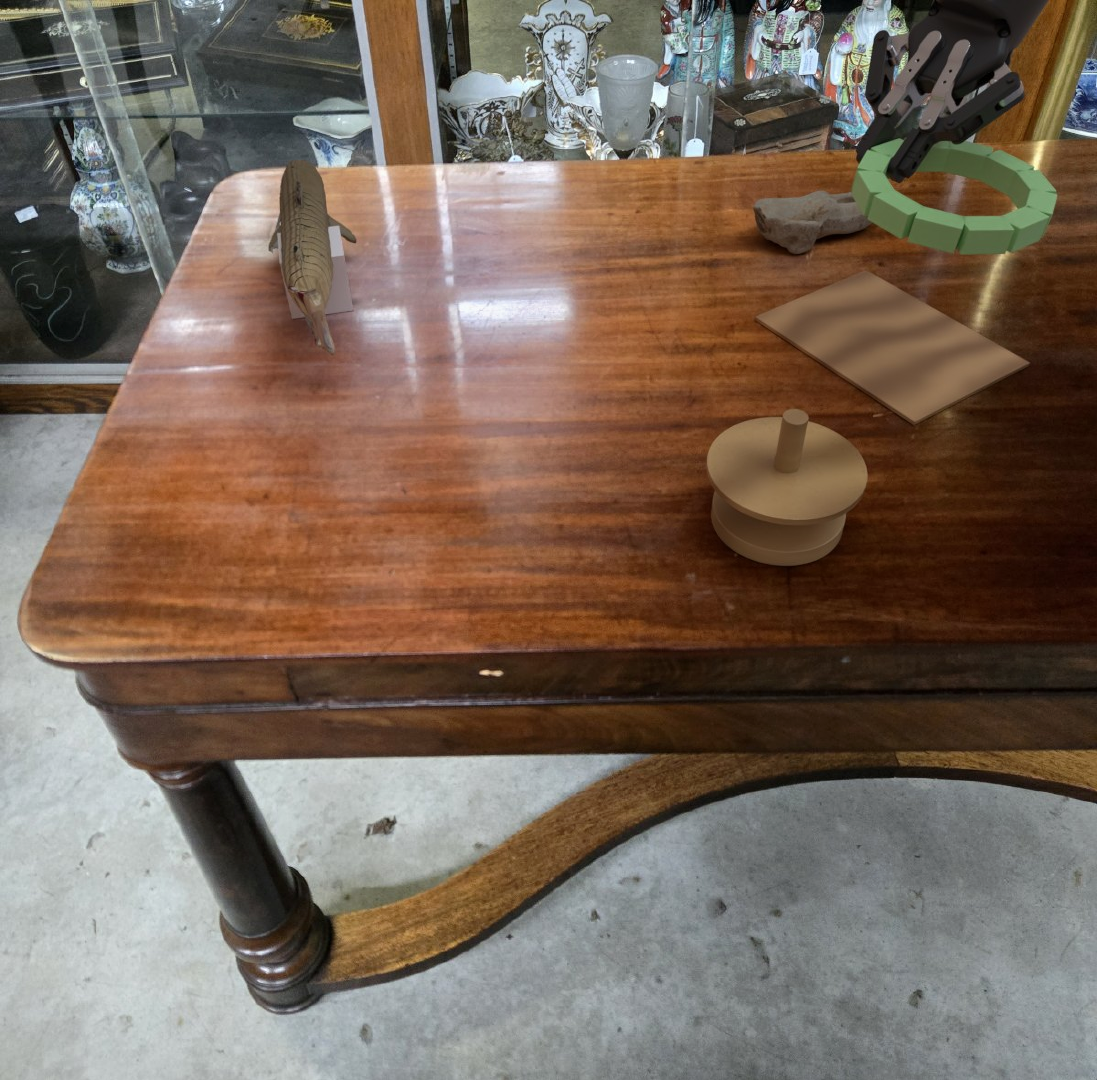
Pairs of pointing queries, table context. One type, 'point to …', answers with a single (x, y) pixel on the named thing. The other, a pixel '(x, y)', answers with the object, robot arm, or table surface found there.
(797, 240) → the sculpture
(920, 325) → the mat
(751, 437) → the stand
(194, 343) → the table surface
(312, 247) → the wood carving
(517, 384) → the table surface
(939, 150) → the ring
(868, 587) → the table surface
